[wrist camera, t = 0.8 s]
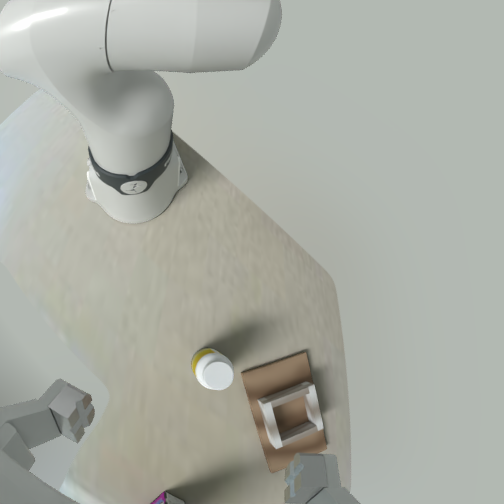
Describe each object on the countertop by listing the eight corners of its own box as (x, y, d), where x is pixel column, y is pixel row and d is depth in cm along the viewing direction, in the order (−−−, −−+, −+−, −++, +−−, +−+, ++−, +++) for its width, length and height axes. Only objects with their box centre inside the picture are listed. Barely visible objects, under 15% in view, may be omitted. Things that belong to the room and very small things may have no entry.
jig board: (240, 372, 43) (247, 377, 40) (303, 351, 47) (314, 353, 44) (270, 471, 40) (278, 480, 36) (324, 447, 44) (335, 453, 40)
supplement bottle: (186, 374, 41) (192, 388, 32) (196, 343, 42) (204, 350, 33) (218, 383, 42) (232, 399, 33) (227, 353, 44) (244, 361, 34)
